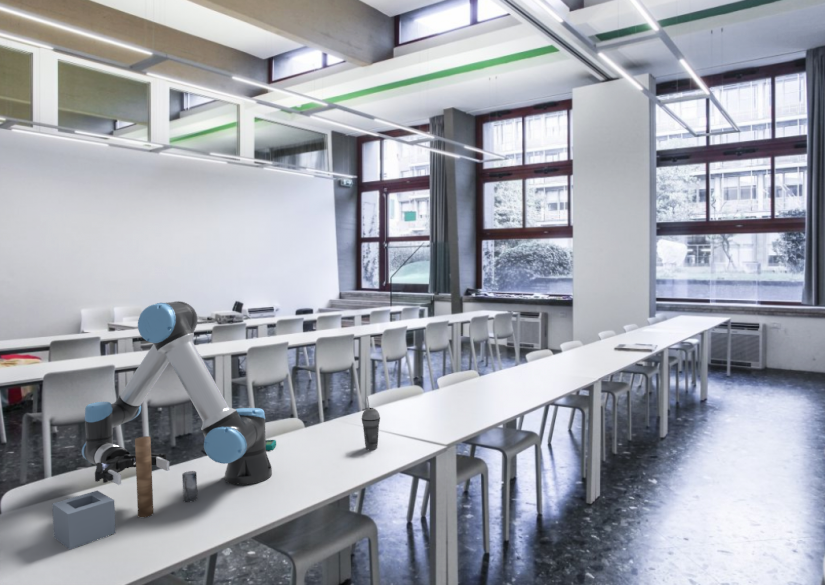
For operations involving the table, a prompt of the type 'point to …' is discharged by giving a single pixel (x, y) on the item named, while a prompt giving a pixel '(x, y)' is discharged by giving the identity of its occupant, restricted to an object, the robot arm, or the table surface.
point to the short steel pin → (189, 486)
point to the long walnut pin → (144, 476)
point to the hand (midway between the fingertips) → (144, 472)
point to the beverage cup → (371, 427)
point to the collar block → (83, 519)
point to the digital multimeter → (270, 444)
